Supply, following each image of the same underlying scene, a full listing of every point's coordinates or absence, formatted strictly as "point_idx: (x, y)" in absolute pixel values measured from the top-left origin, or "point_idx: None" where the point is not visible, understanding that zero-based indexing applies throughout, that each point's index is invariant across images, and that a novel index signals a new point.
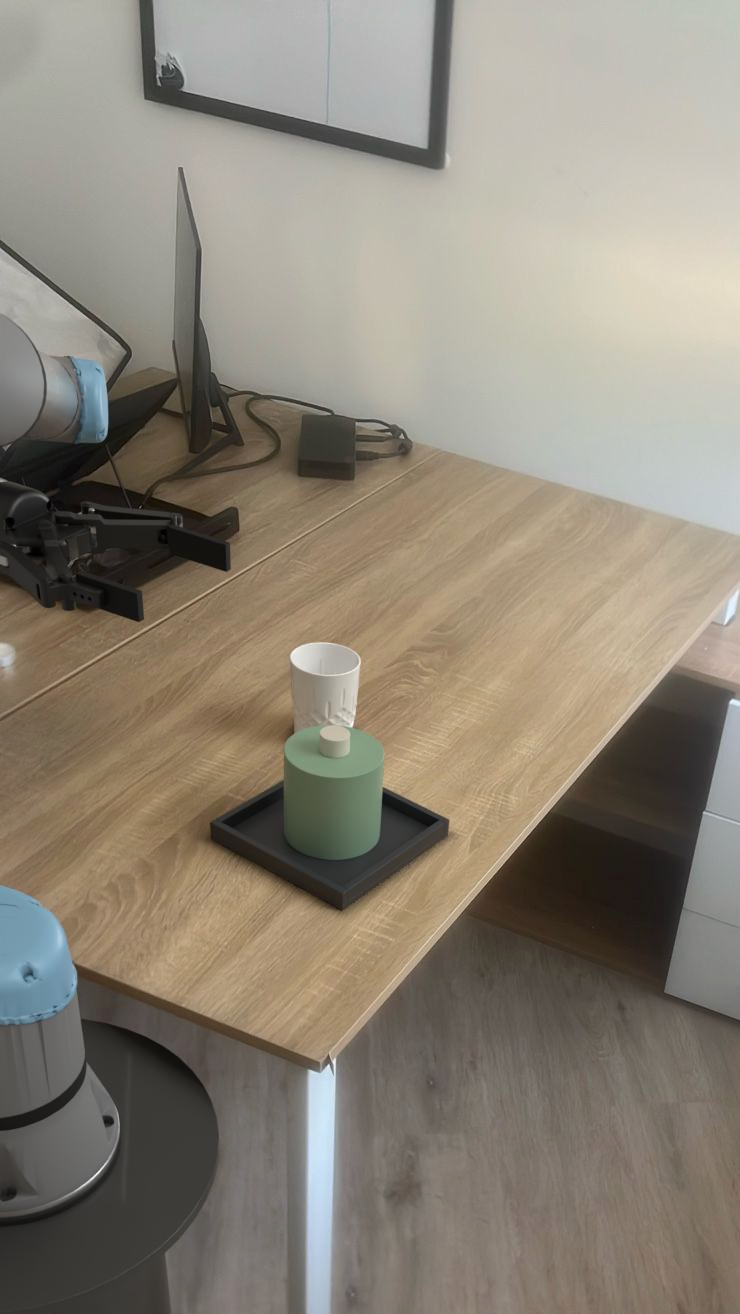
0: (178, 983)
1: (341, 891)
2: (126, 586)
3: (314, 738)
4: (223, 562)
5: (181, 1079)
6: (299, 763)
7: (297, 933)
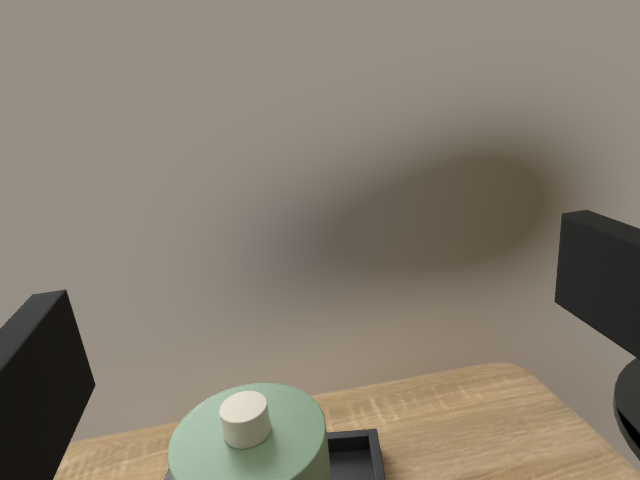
0: (608, 468)
1: (375, 431)
2: (609, 229)
3: (235, 468)
4: (83, 361)
5: (635, 419)
6: (314, 435)
7: (443, 450)
